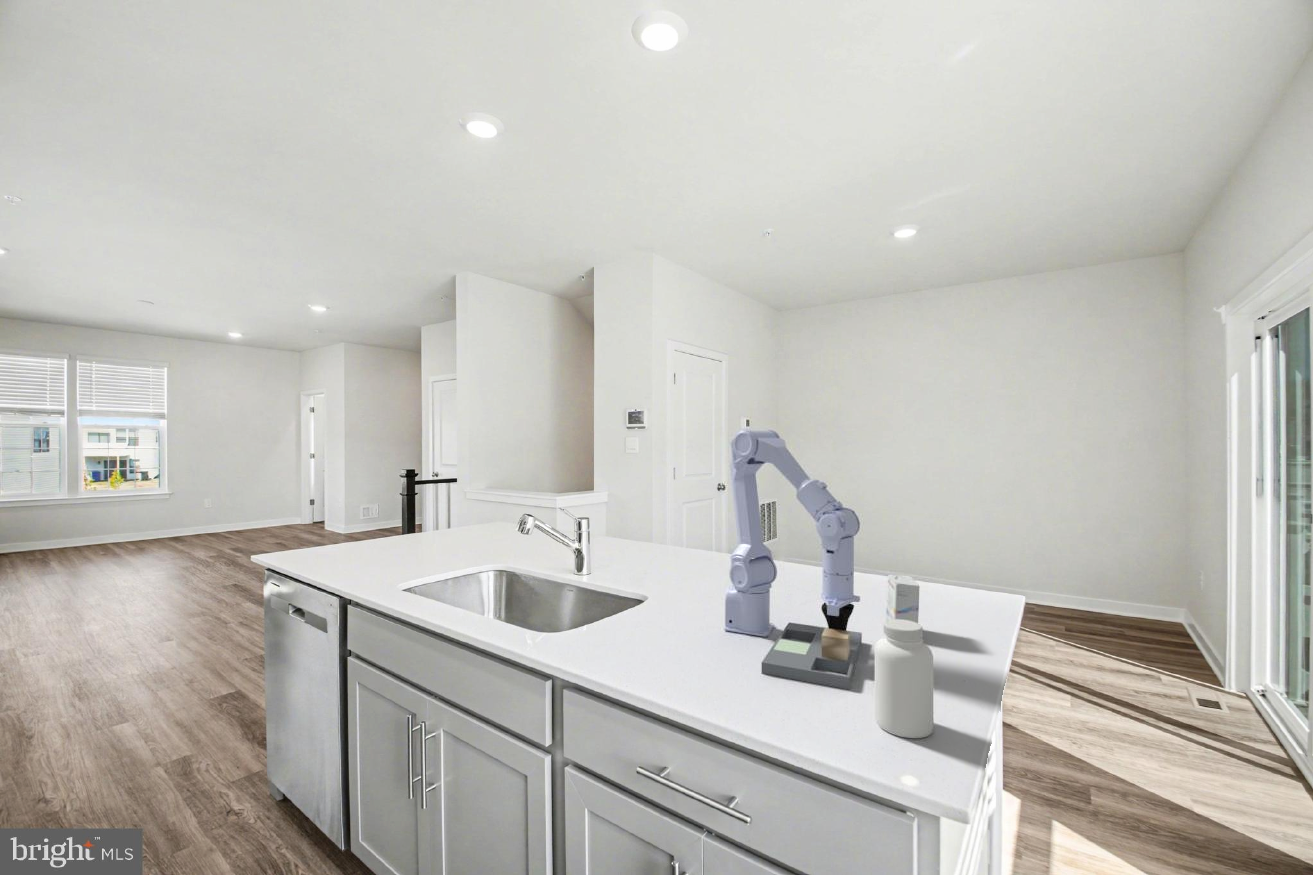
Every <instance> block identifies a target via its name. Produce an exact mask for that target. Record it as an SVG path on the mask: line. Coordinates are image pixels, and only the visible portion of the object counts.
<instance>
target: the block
mask: <svg viewBox="0 0 1313 875" xmlns="http://www.w3.org/2000/svg"><path fill="white" fill-rule="evenodd" d="M850 631H851V630H846V631H844V630H837V629H830V628H828V627H825V629H824V631H823V634H822V657H825V658H831V659H837V660H843V661H847V660H848V657H849V654H850Z"/></svg>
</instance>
